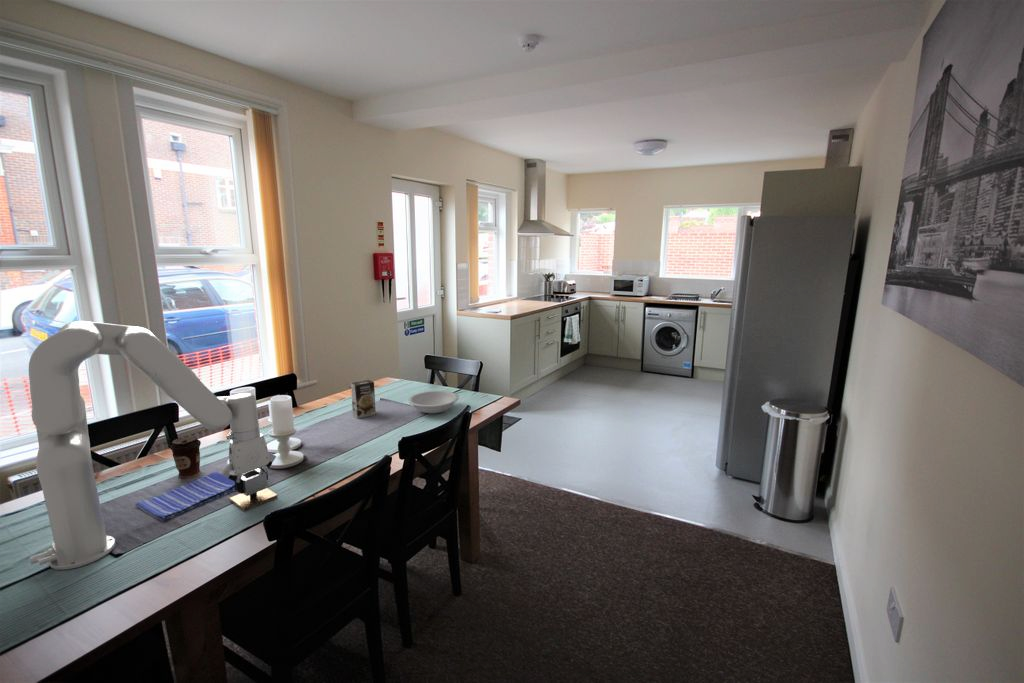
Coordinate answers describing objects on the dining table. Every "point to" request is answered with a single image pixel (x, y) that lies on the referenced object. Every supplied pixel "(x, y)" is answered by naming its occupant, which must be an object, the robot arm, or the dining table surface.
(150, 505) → the dish towel
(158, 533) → the dining table surface
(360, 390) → the coffee box
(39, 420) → the robot arm
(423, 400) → the soup bowl
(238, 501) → the post
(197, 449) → the coffee cup
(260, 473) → the white box block
